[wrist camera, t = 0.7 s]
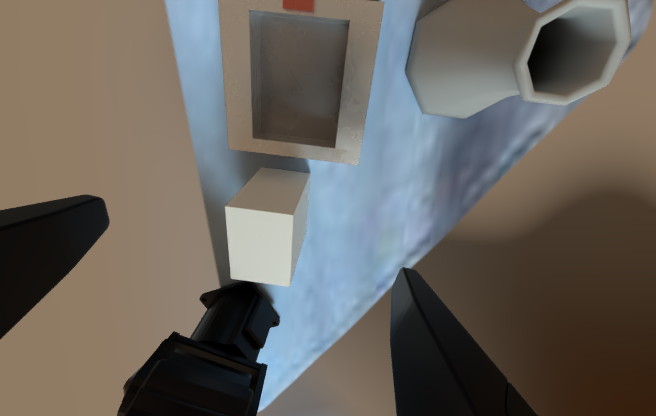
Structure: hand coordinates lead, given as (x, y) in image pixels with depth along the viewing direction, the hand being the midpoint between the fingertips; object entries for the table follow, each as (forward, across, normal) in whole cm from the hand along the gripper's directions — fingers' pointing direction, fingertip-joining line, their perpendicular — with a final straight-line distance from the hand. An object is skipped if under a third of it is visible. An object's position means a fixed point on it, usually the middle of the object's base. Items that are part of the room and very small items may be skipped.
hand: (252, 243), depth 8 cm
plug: (+14, +2, +6) cm, 15 cm away
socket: (+14, +2, -3) cm, 14 cm away
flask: (+15, -8, -6) cm, 18 cm away
